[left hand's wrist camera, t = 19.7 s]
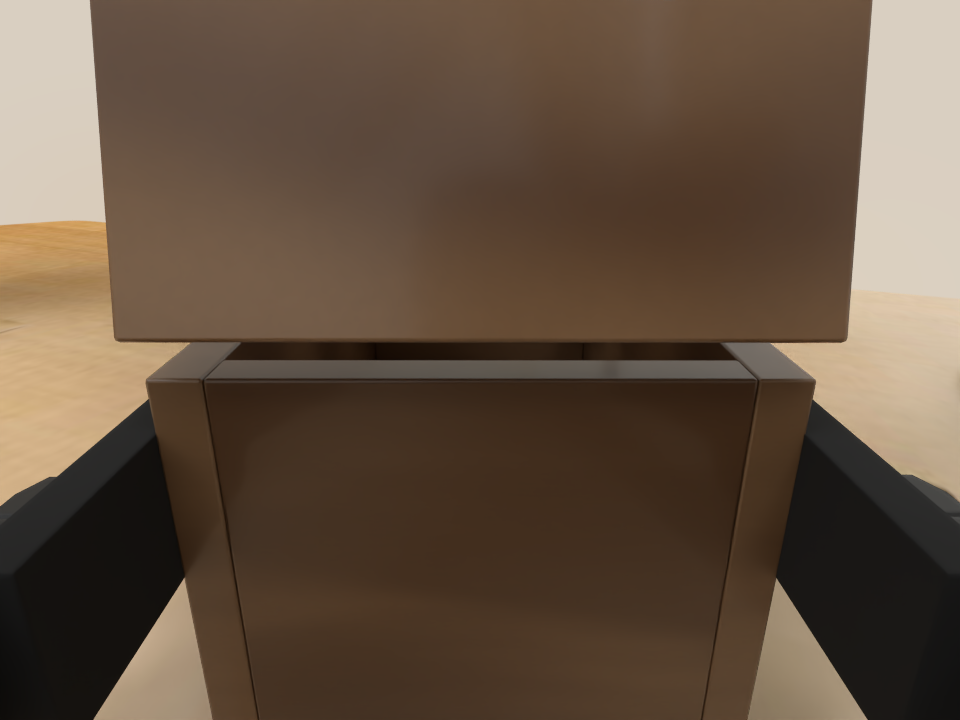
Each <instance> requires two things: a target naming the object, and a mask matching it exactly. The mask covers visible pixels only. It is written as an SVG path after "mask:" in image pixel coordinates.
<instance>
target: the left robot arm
mask: <svg viewBox="0 0 960 720" xmlns="http://www.w3.org/2000/svg"><path fill="white" fill-rule="evenodd" d="M776 578H777V579H778V581H779V583H780V584H781V586H782V587H783V589H784V590H785V592H786V593H787V595H788V597H789V598H790V600H791V601H792V603H793V604H794V606H795V607H796V609H797V611H798V612H799V614H800V615H801V617H802V618H803V620H804V621H805V623H806V624H807V626H808V628H809V629H810V631H811V632H812V634H813V635H814V637H815V638H816V640H817V642H818V643H819V645H820V646H821V648H822V649H823V651H824V652H825V654H826V656H827V657H828V659H829V660H830V662H831V663H832V665H833V666H834V668H835V670H836V671H837V673H838V674H839V676H840V677H841V679H842V680H843V682H844V684H845V685H846V687H847V688H848V690H849V691H850V693H851V694H852V696H853V698H854V699H855V701H856V702H857V704H858V705H859V707H860V708H861V710H862V712H863V713H864V715H865V716H866V718H867V719H868V720H960V503H959V502H958V501H957V500H956V499H954V498H953V497H952V496H951V495H949V494H948V493H947V492H945V491H943V490H941V489H939V488H937V487H935V486H933V485H931V484H929V483H927V482H925V481H923V480H921V479H919V478H917V477H915V476H913V475H901V474H900V473H899V472H897V471H896V470H895V469H894V468H893V467H892V466H890V465H889V464H888V463H887V462H886V461H884V460H883V459H882V458H881V457H880V456H879V455H877V454H876V453H875V452H874V451H873V450H872V449H870V448H869V447H868V446H867V445H866V444H864V443H863V442H862V441H861V440H860V439H859V438H857V437H856V436H855V435H854V434H853V433H851V432H850V431H849V430H848V429H847V428H846V427H844V426H843V425H842V424H841V423H840V422H838V421H837V420H836V419H835V418H834V417H833V416H831V415H830V414H829V413H828V412H827V411H825V410H824V409H823V408H822V407H821V406H820V405H818V404H817V403H816V402H815V401H814V400H813V399H812V404H811V409H810V414H809V419H808V424H807V429H806V434H805V435H804V440H803V445H802V450H801V455H800V460H799V465H798V470H797V475H796V480H795V485H794V489H793V494H792V499H791V504H790V509H789V514H788V519H787V524H786V529H785V534H784V539H783V544H782V549H781V554H780V559H779V564H778V569H777V574H776ZM183 579H184V572H183V567H182V562H181V557H180V552H179V547H178V542H177V537H176V532H175V527H174V522H173V517H172V512H171V507H170V502H169V497H168V492H167V487H166V482H165V477H164V472H163V467H162V462H161V457H160V452H159V447H158V442H157V437H156V432H155V427H154V422H153V417H152V412H151V407H150V402H149V399H148V400H147V401H146V402H145V403H144V404H142V405H141V406H140V407H139V408H138V409H136V410H135V411H134V412H133V413H132V414H131V415H129V416H128V417H127V418H126V419H125V420H123V421H122V422H121V423H120V424H119V425H118V426H116V427H115V428H114V429H113V430H112V431H111V432H109V433H108V434H107V435H106V436H105V437H103V438H102V439H101V440H100V441H99V442H98V443H96V444H95V445H94V446H93V447H92V448H90V449H89V450H88V451H87V452H86V453H85V454H83V455H82V456H81V457H80V458H79V459H78V460H76V461H75V462H74V463H73V464H72V465H70V466H69V467H68V468H67V469H66V470H65V471H63V472H62V473H61V474H60V475H59V476H57V477H49V478H47V479H45V480H43V481H41V482H39V483H37V484H35V485H33V486H31V487H29V488H27V489H25V490H23V491H21V492H19V493H17V494H15V495H14V496H13V497H11V498H10V499H9V500H8V501H6V502H5V503H4V504H3V505H1V506H0V720H93V719H94V717H95V716H96V714H97V713H98V711H99V710H100V708H101V707H102V705H103V703H104V702H105V700H106V699H107V697H108V696H109V694H110V693H111V691H112V689H113V688H114V686H115V685H116V683H117V682H118V680H119V679H120V677H121V675H122V674H123V672H124V671H125V669H126V668H127V666H128V665H129V663H130V661H131V660H132V658H133V657H134V655H135V654H136V652H137V651H138V649H139V647H140V646H141V644H142V643H143V641H144V640H145V638H146V637H147V635H148V633H149V632H150V630H151V629H152V627H153V626H154V624H155V623H156V621H157V619H158V618H159V616H160V615H161V613H162V612H163V610H164V609H165V607H166V605H167V604H168V602H169V601H170V599H171V598H172V596H173V595H174V593H175V591H176V590H177V588H178V587H179V585H180V584H181V582H182V581H183Z"/></svg>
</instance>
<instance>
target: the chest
mask: <svg viewBox="0 0 960 720" xmlns="http://www.w3.org/2000/svg"><path fill="white" fill-rule="evenodd" d="M815 385H816V380H815V379H814V378H813V377H811V376H810V375H809V374H808V373H806V372H805V371H804V370H803V369H801V368H800V367H799V366H798V365H796V364H795V363H794V362H793V361H791V360H790V359H789V358H788V357H786V356H785V355H784V354H783V353H781V352H780V351H779V350H778V349H777V348H775V347H774V346H773V345H772V344H770V343H322V342H192V343H190V344H189V345H188V346H187V347H185V348H184V349H183V350H182V351H180V352H179V353H178V354H177V355H176V356H174V357H173V358H172V359H171V360H169V361H168V362H167V363H166V364H164V365H163V366H162V367H161V368H159V369H158V370H157V371H156V372H155V373H153V374H152V375H151V376H150V377H148V378H147V379H146V387H147V392H148V397H149V402H150V407H151V412H152V417H153V422H154V427H155V432H156V437H157V442H158V447H159V452H160V457H161V462H162V467H163V472H164V477H165V482H166V487H167V492H168V497H169V502H170V507H171V512H172V517H173V522H174V527H175V532H176V537H177V542H178V547H179V552H180V557H181V562H182V567H183V572H184V578H185V583H186V588H187V593H188V598H189V603H190V608H191V613H192V618H193V623H194V628H195V633H196V638H197V643H198V648H199V653H200V658H201V663H202V668H203V673H204V678H205V683H206V688H207V693H208V698H209V703H210V708H211V713H212V718H213V720H747V719H748V714H749V709H750V704H751V699H752V694H753V689H754V684H755V679H756V674H757V670H758V665H759V660H760V655H761V650H762V645H763V640H764V635H765V630H766V625H767V620H768V616H769V611H770V606H771V601H772V596H773V591H774V586H775V581H776V574H777V569H778V564H779V559H780V554H781V549H782V544H783V539H784V534H785V529H786V524H787V519H788V514H789V509H790V504H791V499H792V494H793V489H794V485H795V480H796V475H797V470H798V465H799V460H800V455H801V450H802V445H803V440H804V435H805V434H806V429H807V424H808V419H809V414H810V409H811V404H812V399H813V394H814V390H815Z"/></svg>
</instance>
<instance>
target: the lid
mask: <svg viewBox="0 0 960 720" xmlns="http://www.w3.org/2000/svg"><path fill="white" fill-rule="evenodd" d="M90 8H91V22H92V36H93V50H94V63H95V78H96V91H97V105H98V119H99V133H100V147H101V161H102V174H103V188H104V202H105V216H106V230H107V244H108V258H109V272H110V285H111V299H112V313H113V327H114V338H115V340H116V341H119V342H322V343H842V342H844V341H846V340H847V335H848V322H849V308H850V295H851V281H852V268H853V254H854V241H855V227H856V214H857V201H858V187H859V173H860V160H861V147H862V133H863V120H864V106H865V93H866V79H867V66H868V52H869V39H870V26H871V12H872V0H90Z"/></svg>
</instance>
